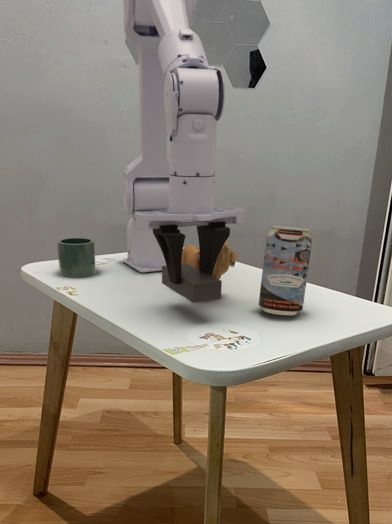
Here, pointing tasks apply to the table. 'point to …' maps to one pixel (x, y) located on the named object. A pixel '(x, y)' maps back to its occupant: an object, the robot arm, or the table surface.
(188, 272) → the black bar
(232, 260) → the lion figurine
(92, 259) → the cup
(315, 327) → the table surface
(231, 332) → the table surface
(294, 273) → the beverage can
